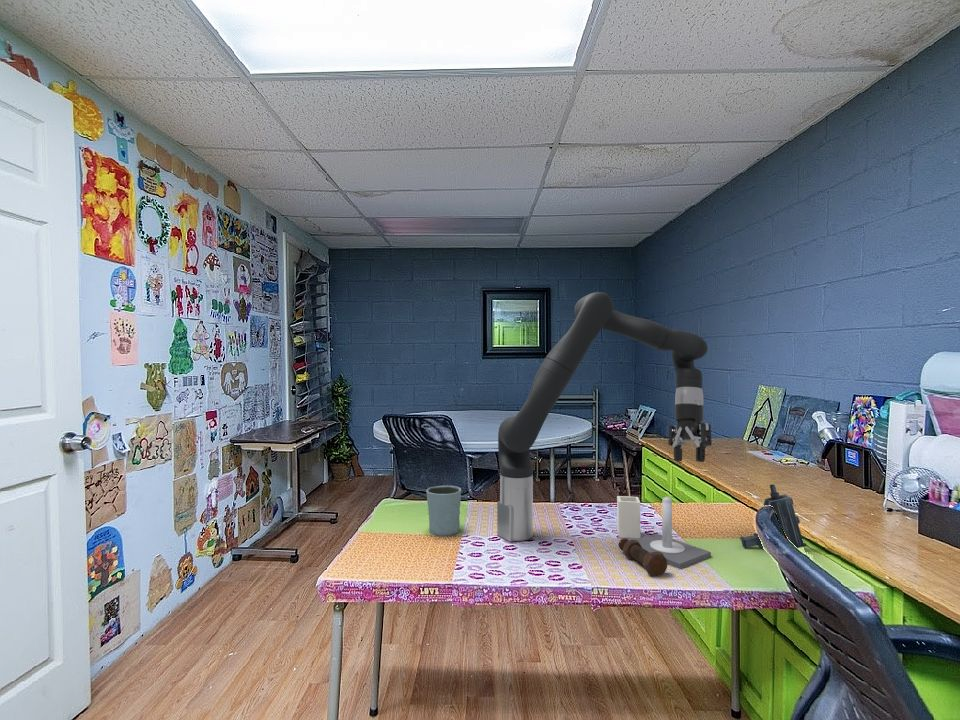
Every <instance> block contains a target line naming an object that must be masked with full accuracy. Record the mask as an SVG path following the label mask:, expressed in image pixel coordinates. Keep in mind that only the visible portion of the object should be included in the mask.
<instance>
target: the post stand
mask: <svg viewBox="0 0 960 720" xmlns="http://www.w3.org/2000/svg"><path fill="white" fill-rule="evenodd" d="M661 508H662V509H661V511H662V512H661V519H662V520H661V531H662V532H661V534H660V533H657V532H656V533H653V534H650V535H647V536H644V537H640V539H636V540H637V541H638V542H639V543H640V545H641V546H642V548H643V549H645V550H646V551H648V552H658V551H659V552H661V553H662V554H663V555H664V557H665V558H666V560H667V562H668V566H671V567H674V568H676V569H680V570H681V569H683V568H686V567H688V566H690V565H693V564H696V563H698V562H700V561H701V562H702V561H703V560H705V559H709V558H711V557H712V552H711V551H709V550H707V549H703V548H701V547H699V546H695V545H692V544H689V543H687V542H683V541H680V540H677V539H675V538H673V500H672V498H671V497H670V496H663V498H662V502H661Z"/></svg>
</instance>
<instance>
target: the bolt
mask: <svg viewBox="0 0 960 720" xmlns="http://www.w3.org/2000/svg"><path fill="white" fill-rule="evenodd" d="M618 548H619V550H621V551H622V552H623V554H624V556H625V557H626V558H627V559H628V560H630V561H634V560H636V561H637V562H639V563H641V565H643V567H644V569H645V571H646V572H647V574H648V576H650V577H661V576H663V575H664V574H665V573H666V570H667V569H668V566H669V564H668V562H667V560H666V558H665V557H664V555H663V554H662V553H661V552H659V551H658V552H648V551H646V550H645V549H643V548H642V546H641V545H640V543H639V542H638V541H637V539H629V538H621V539H620V540H619V542H618Z"/></svg>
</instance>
